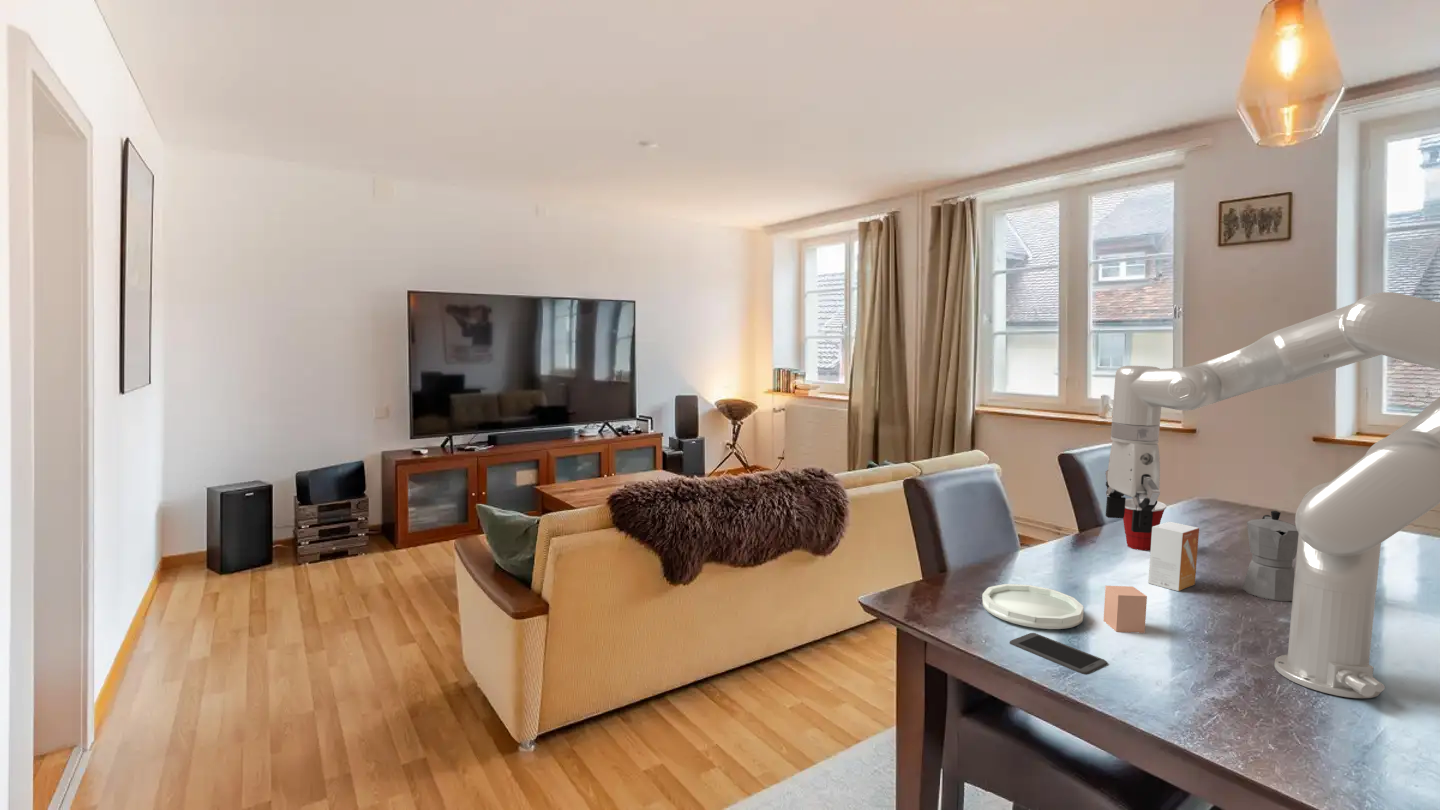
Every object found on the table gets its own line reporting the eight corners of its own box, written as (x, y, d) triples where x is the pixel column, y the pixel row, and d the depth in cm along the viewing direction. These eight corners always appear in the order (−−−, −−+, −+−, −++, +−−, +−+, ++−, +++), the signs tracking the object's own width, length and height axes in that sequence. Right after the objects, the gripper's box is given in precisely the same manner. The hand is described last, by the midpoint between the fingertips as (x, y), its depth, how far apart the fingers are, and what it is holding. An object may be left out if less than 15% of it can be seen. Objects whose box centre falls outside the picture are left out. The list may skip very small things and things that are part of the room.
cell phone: (1031, 635, 125) (1032, 631, 125) (1109, 665, 113) (1109, 661, 113) (1007, 645, 121) (1007, 641, 121) (1085, 677, 109) (1085, 672, 109)
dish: (1100, 634, 124) (1100, 620, 124) (998, 630, 126) (999, 616, 126) (1060, 597, 142) (1060, 585, 142) (971, 594, 144) (972, 582, 144)
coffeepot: (1306, 608, 137) (1313, 521, 135) (1247, 599, 142) (1254, 515, 140) (1287, 584, 151) (1293, 505, 149) (1234, 577, 155) (1240, 500, 153)
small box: (1179, 592, 146) (1183, 532, 145) (1147, 583, 151) (1151, 526, 150) (1196, 585, 150) (1200, 527, 149) (1164, 576, 156) (1168, 520, 154)
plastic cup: (1106, 544, 180) (1108, 499, 179) (1132, 539, 185) (1135, 496, 184) (1146, 556, 171) (1149, 509, 170) (1173, 550, 175) (1176, 505, 174)
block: (1144, 633, 125) (1147, 596, 124) (1116, 631, 126) (1118, 595, 125) (1130, 622, 130) (1133, 586, 129) (1103, 621, 131) (1105, 585, 130)
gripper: (1183, 441, 116) (1175, 539, 117) (1132, 427, 133) (1125, 513, 135) (1137, 439, 116) (1129, 537, 118) (1092, 426, 133) (1085, 511, 135)
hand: (1127, 524), depth 126 cm, fingers open, 9 cm apart
